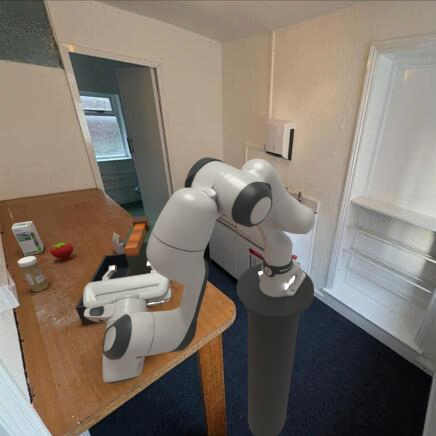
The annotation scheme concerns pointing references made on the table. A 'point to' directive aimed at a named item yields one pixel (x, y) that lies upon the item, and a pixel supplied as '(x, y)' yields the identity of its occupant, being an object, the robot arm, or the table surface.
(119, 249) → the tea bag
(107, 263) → the drawer
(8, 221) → the table surface
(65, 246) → the strawberry
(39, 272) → the sprinkles bottle
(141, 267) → the pedestal
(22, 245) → the syrup box
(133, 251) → the orange bar brown end
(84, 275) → the table surface
